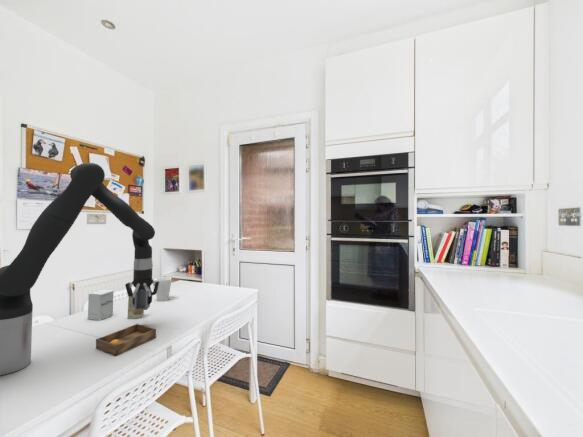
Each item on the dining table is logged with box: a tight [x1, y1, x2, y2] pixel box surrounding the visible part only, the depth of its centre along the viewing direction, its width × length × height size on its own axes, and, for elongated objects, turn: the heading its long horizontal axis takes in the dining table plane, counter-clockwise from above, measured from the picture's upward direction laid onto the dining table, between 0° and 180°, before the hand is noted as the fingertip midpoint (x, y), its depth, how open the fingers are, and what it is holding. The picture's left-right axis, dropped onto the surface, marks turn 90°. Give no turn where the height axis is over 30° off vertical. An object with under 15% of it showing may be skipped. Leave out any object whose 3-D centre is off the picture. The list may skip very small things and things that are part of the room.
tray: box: [95, 323, 157, 357], centre depth 99 cm, size 16×12×4 cm
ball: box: [110, 339, 120, 345], centre depth 93 cm, size 3×3×3 cm
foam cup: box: [154, 276, 172, 302], centre depth 154 cm, size 10×9×13 cm
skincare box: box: [127, 291, 145, 320], centre depth 126 cm, size 6×4×12 cm
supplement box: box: [87, 289, 114, 321], centre depth 125 cm, size 7×7×13 cm
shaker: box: [134, 290, 151, 311], centre depth 115 cm, size 5×5×8 cm
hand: (142, 304), depth 115 cm, fingers closed on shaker, 5 cm apart
